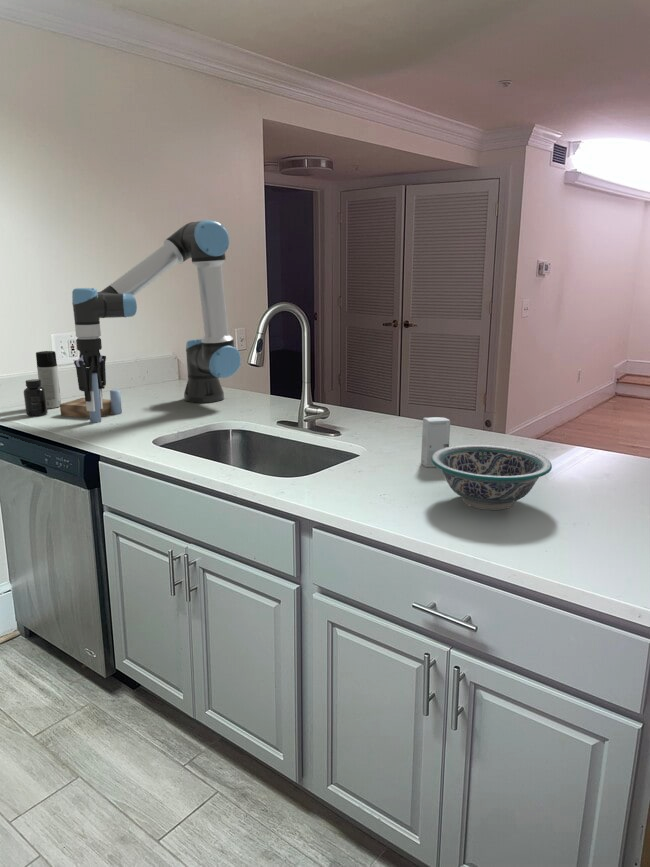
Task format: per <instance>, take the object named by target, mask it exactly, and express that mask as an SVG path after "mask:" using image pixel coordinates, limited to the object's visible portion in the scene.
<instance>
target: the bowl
mask: <svg viewBox="0 0 650 867" xmlns="http://www.w3.org/2000/svg"><path fill="white" fill-rule="evenodd" d="M431 460H432V463H433V464H434V465H435V466H436V467H437V468H438V469H440V470H441V471H442V473H443V476H444V478H445V480H446V483H447V484H448V486H449V487H450V489H451V490H452V491H453V492H454V493H455V494H456V495H458V496H460V497H461V498H462V502H463V503H464V504H466V505H467V506H469V507H472V508H475V509H480V510H486V511H489V510H490V511H501V510H506V509H510V508H511V507H512V506H513V505H514V502H517V501H519V500H522V499H523V498H524V497H526V496H527V495H528V494H529V493H530V492H531V490H532V489H533V487H534V485H536V482H537V481H538V480H539V478H541V477H543V476H545V475H548V474H549V473H550V472H551V471H552V468H553V465H552V463H551V461H550V460H549V459H548V458H546V457H545V456H543V455H541V454H538V453H536V452H534V451H530V450H527V449H522V448H517V447H513V446H506V445H505V446H504V445H498V444H497V445H496V444H482V443H481V444H477V443H475V444H459V445H453V446H452V445H451V446H449V447H447V448H443V449H440V450H438V451H436V452H435V453H434V454H433V455H432V457H431Z"/></svg>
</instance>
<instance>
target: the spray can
mask: <svg viewBox="0 0 650 867" xmlns="http://www.w3.org/2000/svg"><path fill="white" fill-rule="evenodd" d="M35 358H36V359H35V361H36V368H37V376H38V377H37V379H40V380H41V387H43V388H44V389H45V393H46V402H47V409H50V408H51V409H58V408H60V404H62V398H61V390H60V383H59V382H60V380H59V371H58V364H57V363H58V362H57V354H56V351H53V350H44V351H42V350H41V351H37V352H35ZM57 407H58V408H57Z"/></svg>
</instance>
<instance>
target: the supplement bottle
mask: <svg viewBox="0 0 650 867" xmlns="http://www.w3.org/2000/svg"><path fill="white" fill-rule="evenodd" d="M25 387H26V388H25V389H24V390H23V397H24V406H25V413H26V415H28V416H27V417H42V416H45V415H47V414H48V411H49V410H48V408H47V402H46V393H45V389H44V388H43V387H41V380H40V379H38V378H34V379H32V378H31V379H27V380H25Z"/></svg>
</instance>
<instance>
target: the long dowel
mask: <svg viewBox="0 0 650 867" xmlns="http://www.w3.org/2000/svg"><path fill="white" fill-rule="evenodd" d="M91 391H93V392H94V403H95V411H94V412H93V411H89V412H90V418H89V422H90V423H91V422H92V423H91V424H97V423H96V422H99V423H102V417H101V412H100V400H99V389H98V377H97V373H92V390H91Z"/></svg>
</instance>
